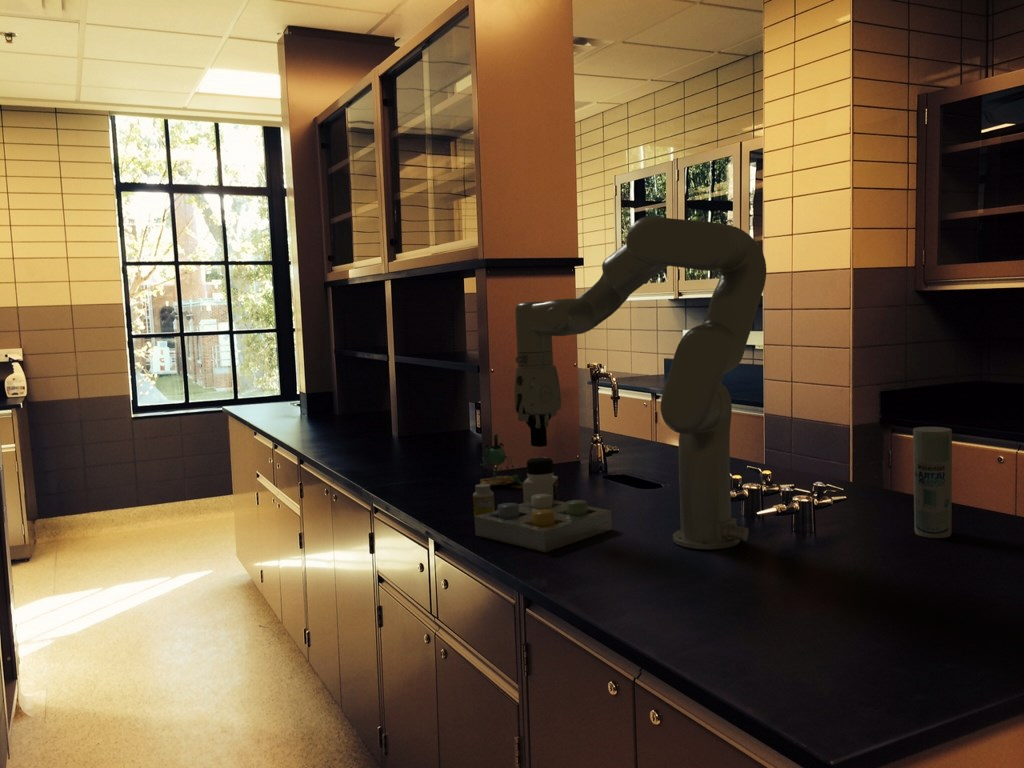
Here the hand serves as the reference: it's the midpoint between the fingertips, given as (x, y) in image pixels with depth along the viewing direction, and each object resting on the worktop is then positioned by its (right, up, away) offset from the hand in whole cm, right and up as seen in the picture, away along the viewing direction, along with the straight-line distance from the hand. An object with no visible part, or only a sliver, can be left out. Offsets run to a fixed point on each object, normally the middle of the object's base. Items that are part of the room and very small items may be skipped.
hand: (539, 445), depth 176 cm
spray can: (+74, -15, -20) cm, 78 cm away
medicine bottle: (+1, -16, +14) cm, 21 cm away
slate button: (-6, -16, -6) cm, 18 cm away
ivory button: (+1, -15, +1) cm, 15 cm away
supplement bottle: (-12, -18, +5) cm, 22 cm away
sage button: (+8, -15, -6) cm, 18 cm away
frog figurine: (-9, -14, +44) cm, 47 cm away
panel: (+1, -18, -6) cm, 18 cm away
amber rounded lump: (+1, -16, -13) cm, 21 cm away
